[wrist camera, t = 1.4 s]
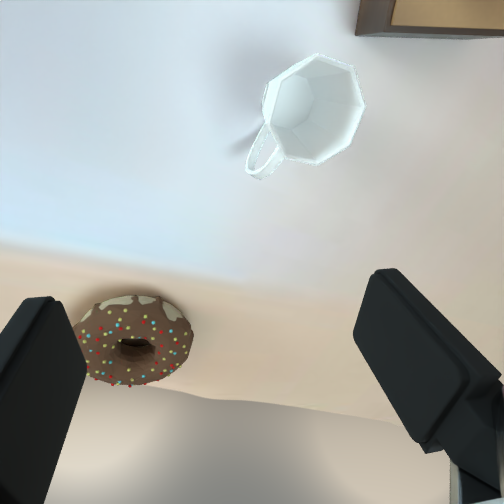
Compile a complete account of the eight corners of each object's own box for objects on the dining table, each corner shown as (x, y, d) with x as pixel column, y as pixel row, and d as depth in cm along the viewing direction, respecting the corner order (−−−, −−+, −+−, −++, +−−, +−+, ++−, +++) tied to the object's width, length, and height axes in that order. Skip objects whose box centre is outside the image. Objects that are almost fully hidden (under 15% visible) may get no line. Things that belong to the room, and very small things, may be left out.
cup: (338, 91, 27) (387, 103, 20) (269, 180, 30) (292, 214, 24) (281, 32, 24) (317, 23, 17) (212, 138, 27) (220, 165, 21)
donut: (128, 266, 33) (120, 295, 29) (212, 323, 40) (215, 353, 36) (49, 334, 36) (32, 369, 32) (140, 376, 43) (135, 409, 39)
